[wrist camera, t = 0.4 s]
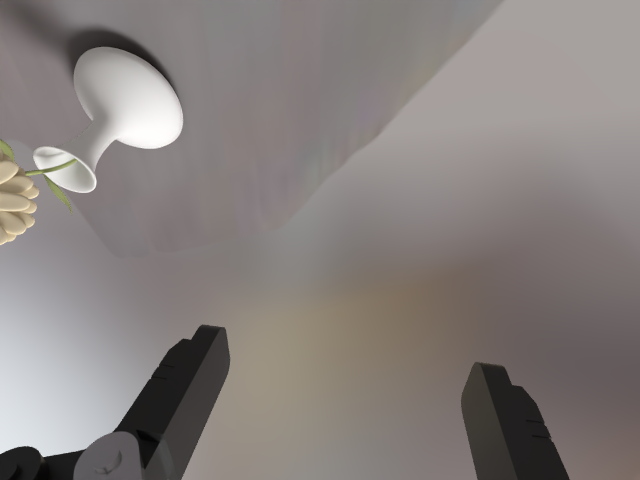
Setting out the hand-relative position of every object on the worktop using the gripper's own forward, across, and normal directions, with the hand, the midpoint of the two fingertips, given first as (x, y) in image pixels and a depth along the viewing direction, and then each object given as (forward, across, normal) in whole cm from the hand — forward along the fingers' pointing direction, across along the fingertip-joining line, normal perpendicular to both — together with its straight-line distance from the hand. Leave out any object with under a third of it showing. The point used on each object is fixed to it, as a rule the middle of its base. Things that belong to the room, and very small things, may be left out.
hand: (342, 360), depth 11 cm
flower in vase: (+31, +26, -4) cm, 41 cm away
